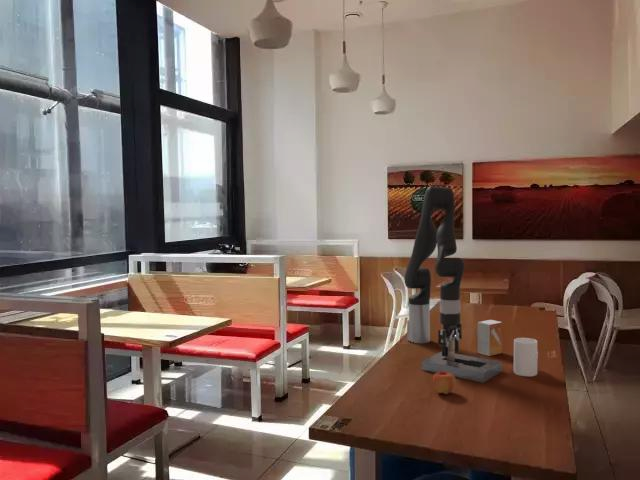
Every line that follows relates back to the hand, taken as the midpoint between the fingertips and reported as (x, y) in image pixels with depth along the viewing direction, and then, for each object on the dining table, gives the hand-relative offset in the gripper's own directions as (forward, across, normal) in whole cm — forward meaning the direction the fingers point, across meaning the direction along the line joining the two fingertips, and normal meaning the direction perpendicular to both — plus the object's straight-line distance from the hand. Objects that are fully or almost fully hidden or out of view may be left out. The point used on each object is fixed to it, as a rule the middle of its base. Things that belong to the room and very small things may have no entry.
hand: (450, 353), depth 200 cm
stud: (+6, 0, 0) cm, 6 cm away
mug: (+6, -13, +24) cm, 27 cm away
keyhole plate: (+6, 0, +4) cm, 7 cm away
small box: (+6, -28, +4) cm, 29 cm away
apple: (+6, +25, +10) cm, 28 cm away
